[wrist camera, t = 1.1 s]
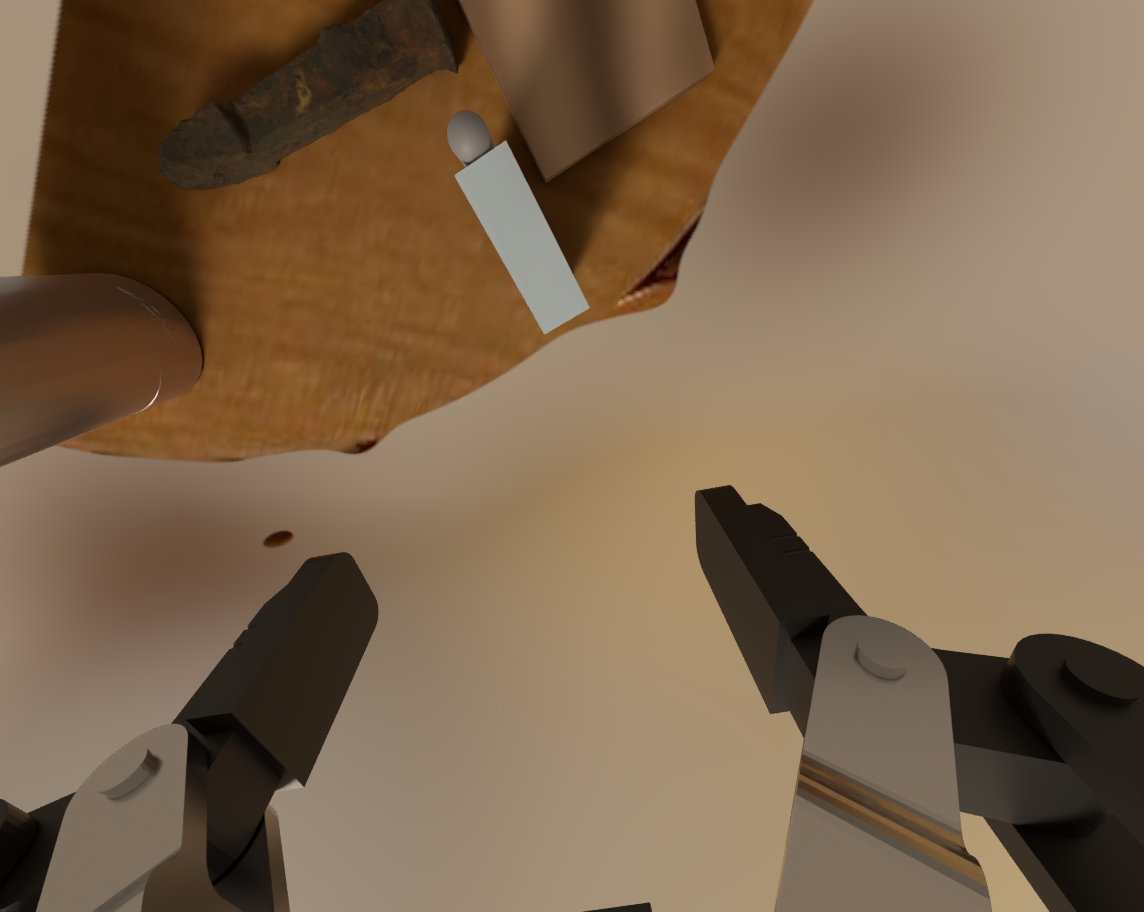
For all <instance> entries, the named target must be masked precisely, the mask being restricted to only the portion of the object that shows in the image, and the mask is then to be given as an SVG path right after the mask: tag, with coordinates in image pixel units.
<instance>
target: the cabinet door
mask: <svg viewBox="0 0 1144 912" xmlns="http://www.w3.org/2000/svg"><path fill="white" fill-rule="evenodd" d="M447 137H448V142H449V145H450V147H451V149H452V151H453V152H454V153H455V155H456V156H457V157H458V158H459V160H460V161H461V162H462V163H463V165H464V166H465V167H466V168H465V169H463V170H462V171H460V172H459V173H457V174H456V175H454V176H455V178H456V180H457V181H458V183H459V185H460V187H461V188H462V190H463V192H464V194H465V195H466V197H467V199H468V201H469V202H470V204H471V206H472V208H473V209H474V211H475V213H476V215H477V216H478V218H479V220H480V222H481V224H482V225H483V227H484V229H485V231H486V232H487V234H488V236H489V238H490V239H491V241H492V243H493V245H494V246H495V248H496V250H497V252H498V253H499V255H500V257H501V259H502V261H503V262H504V264H505V266H506V268H507V269H508V271H509V273H510V275H511V276H512V278H513V280H514V282H515V283H516V285H517V287H518V289H519V290H520V292H521V294H522V296H523V297H524V299H525V301H526V303H527V305H528V306H529V308H530V310H531V312H532V313H533V315H534V317H535V319H536V320H537V322H538V324H539V326H540V327H541V329H542V331H543V333H544V334H546V333H548V332H549V331H551V330H553V329H555V328H556V327H558V326H560V325H561V324H563V323H565V322H566V321H568V320H570V319H572V318H573V317H575V316H577V315H578V314H580V313H582V312H583V311H585V310H587V309H589V308H590V307H589V305H588V303H587V301H586V299H585V297H584V295H583V293H582V291H581V289H580V287H579V285H578V283H577V281H576V279H575V277H574V275H573V273H572V271H571V269H570V267H569V265H568V263H567V261H566V259H565V257H564V255H563V253H562V251H561V249H560V247H559V245H558V243H557V241H556V239H555V237H554V235H553V233H552V231H551V229H550V227H549V225H548V223H547V221H546V219H545V217H544V215H543V213H542V211H541V209H540V207H539V205H538V203H537V201H536V199H535V197H534V195H533V193H532V191H531V189H530V187H529V185H528V183H527V181H526V179H525V177H524V175H523V173H522V171H521V169H520V167H519V165H518V163H517V161H516V159H515V157H514V155H513V153H512V151H511V149H510V147H509V145H508V143H507V141H504V142H503V143H501V144H500V145H498V146H497V147H495V146H494V144H493V141H492V139H491V136H490V133H489V131H488V128H487V126H486V124H485V122H484V121H483V119H482V118H481V117H480V116H479V115H477V114H476V113H474V112H472V111H467V110H465V111H460V112H458V113H456V114H455V115H454V116H453V117H452V118H451V120H450V122H449V124H448V129H447Z"/></svg>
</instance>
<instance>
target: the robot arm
mask: <svg viewBox="0 0 1144 912" xmlns="http://www.w3.org/2000/svg"><path fill="white" fill-rule="evenodd" d="M201 369H202V354H201V348H200V345H199V342H198V340H197V337H196V334H195V333H194V331H193V329H192V328H191V326H190V324H189V323H188V321H187V320H186V319H185V318H184V316H183V315H182V314H181V313H180V312H179V310H178V309H177V308H176V307H175V306H174V305H172V304H171V303H170V302H169V301H168V300H167V299H166V298H165V297H163V296H162V295H160V294H159V293H157V292H156V291H154V290H153V289H151V288H150V287H148V286H146V285H144V284H142V283H140V282H137V281H135V280H133V279H130V278H127V277H123V276H120V275H116V274H107V273H87V274H64V275H34V276H11V277H0V467H2V466H5V465H7V464H10V463H12V462H15V461H17V460H20V459H22V458H25V457H27V456H30V455H32V454H35V453H37V452H39V451H42V450H45V449H47V448H50V447H52V446H55V445H58V444H60V443H63V442H65V441H68V440H70V439H73V438H75V437H78V436H80V435H83V434H85V433H88V432H90V431H93V430H95V429H98V428H100V427H103V426H105V425H108V424H110V423H113V422H115V421H118V420H120V419H123V418H125V417H128V416H130V415H133V414H136V413H138V412H141V411H143V410H146V409H148V408H151V407H153V406H156V405H158V404H161V403H163V402H166V401H168V400H171V399H174V398H176V397H179V396H181V395H183V394H184V393H186V392H187V391H189V390H190V389H191V388H192V387H193V386H194V385H195V384H196V382H197V381H198V378H199V376H200V374H201ZM695 522H696V545H697V553H698V557H699V561H700V564H701V567H702V570H703V572H704V574H705V576H706V579H707V581H708V582H709V585H710V587H711V589H712V591H713V593H714V596H715V598H716V600H717V602H718V604H719V606H720V608H721V610H722V613H723V614H724V617H725V619H726V621H727V623H728V625H729V627H730V630H731V632H732V634H733V636H734V638H735V640H736V642H737V644H738V646H739V649H740V651H741V653H742V655H743V657H744V659H745V661H746V663H747V666H748V668H749V670H750V672H751V674H752V676H753V679H754V681H755V683H756V685H757V687H758V689H759V691H760V693H761V695H762V698H763V700H764V702H765V704H766V706H767V708H768V710H769V713H770V714H774V713H780V712H786V711H790V712H791V714H792V716H793V718H794V720H795V722H796V724H797V725H798V728H799V729H800V732H801V733H802V735H803V737H804V742H803V748H802V754H801V759H800V765H799V771H798V776H797V783H796V788H795V794H794V800H793V805H792V811H791V817H790V823H789V829H788V834H787V840H786V846H785V852H784V858H783V863H782V869H781V874H780V880H779V886H778V891H777V898H776V903H775V909H774V912H992V909H991V902H990V896H989V891H988V887H987V883H986V879H985V876H984V873H983V870H982V868H981V866H980V864H979V862H978V860H977V859H976V858H975V857H974V856H972V855H970V854H969V853H968V852H967V850H966V848H965V845H964V841H963V837H962V831H961V821H960V812H964V813H969V814H973V815H977V816H982V817H984V819H985V820H986V822H987V823H988V825H989V826H990V827H991V829H992V830H993V832H994V833H995V835H996V836H997V837H998V839H999V840H1000V842H1001V843H1002V844H1003V846H1004V847H1005V849H1006V850H1007V852H1008V853H1009V854H1010V856H1011V857H1012V859H1013V860H1014V862H1015V863H1016V865H1017V866H1018V867H1019V869H1020V870H1021V872H1022V873H1023V874H1024V876H1025V877H1026V879H1027V880H1028V882H1029V883H1030V884H1031V886H1032V887H1033V889H1034V890H1035V892H1036V893H1037V894H1038V896H1039V897H1040V899H1041V900H1042V902H1043V903H1044V904H1045V906H1046V907H1047V909H1048V910H1049V912H1144V667H1143V666H1142V665H1140V664H1138V663H1137V662H1135V661H1133V660H1132V659H1130V658H1128V657H1125V656H1123V655H1122V654H1120V653H1118V652H1115V651H1113V650H1111V649H1108V648H1106V647H1104V646H1101V645H1098V644H1095V643H1092V642H1090V641H1086V640H1083V639H1079V638H1075V637H1071V636H1065V635H1059V634H1036V635H1030V636H1028V637H1025V638H1023V639H1022V640H1020V641H1019V642H1018V643H1017V645H1016V647H1015V649H1014V650H1013V652H1012V654H1011V656H1010V658H1003V657H995V656H987V655H978V654H971V653H963V652H954V651H947V650H939V649H934V648H930V647H929V646H928V645H927V644H926V643H924V641H923V640H921V639H920V638H919V637H917V636H916V635H914V634H913V633H911V632H910V631H908V630H906V629H905V628H903V627H901V626H898V625H896V624H894V623H892V622H889V621H886V620H883V619H880V618H875V617H870V616H867V614H866V613H865V612H864V611H863V610H862V609H861V608H860V607H859V606H858V604H857V603H856V602H855V601H854V600H853V599H852V597H851V596H850V595H849V594H848V593H847V592H846V590H845V589H844V588H843V587H842V586H841V585H840V584H839V582H838V581H837V580H836V579H835V577H834V576H833V575H832V574H831V573H830V572H829V571H828V569H827V568H826V567H825V566H824V565H823V563H822V562H821V561H820V560H819V559H818V558H817V556H816V555H815V554H814V553H813V552H810V550H809V547H808V546H807V545H806V544H805V542H804V541H803V540H802V539H801V538H800V537H798V536H797V533H796V532H795V531H794V529H793V528H792V527H791V526H790V525H789V524H788V522H787V521H786V520H785V519H784V518H783V517H782V516H781V515H779V514H778V513H776V512H774V511H773V510H771V509H769V508H768V507H766V506H764V505H762V504H761V503H759V504H753V505H746V503H745V502H744V500H743V499H742V498H741V497H740V495H739V494H738V493H737V491H736V490H735V489H734V487H732V486H731V485H727V486H722V487H715V488H710V489H704V490H699V491H696V493H695ZM377 621H378V604H377V600H376V598H375V596H374V594H373V592H372V591H371V589H370V587H369V585H368V583H367V582H366V580H365V578H364V576H363V574H362V573H361V571H360V569H359V567H358V565H357V564H356V562H355V560H354V559H353V557H352V556H351V555H350V554H348V553H346V552H342V553H336V554H331V555H324V556H318V557H313V558H310V559H308V560H306V561H305V562H304V564H303V565H302V566H301V568H300V569H299V570H298V572H297V573H296V574H295V576H294V577H293V578H292V580H291V581H290V582H289V583H288V585H286V586H285V587H284V588H283V589H282V590H281V591H279V592H278V593H277V594H276V595H275V596H273V598H271V599H270V600H269V601H268V602H266V603H265V604H264V605H263V607H262V608H261V609H260V611H259V612H258V613H257V614H256V616H255V617H254V618H253V619H252V621H251V622H250V623H249V625H248V629H247V630H244V631H243V632H242V634H241V635H240V636H239V637H238V639H237V640H236V641H235V643H234V644H233V645H234V647H233V648H232V649H229V651H228V652H227V653H226V654H225V655H224V657H223V658H222V659H221V661H220V662H219V663H218V664H217V666H216V667H215V668H214V670H213V671H212V672H211V673H210V675H209V676H208V677H207V679H206V680H205V681H204V682H203V684H202V685H201V686H200V688H199V689H198V690H197V691H196V693H195V694H194V695H193V697H192V698H191V699H190V700H189V702H188V703H187V704H186V705H185V707H184V708H183V709H182V711H181V712H180V713H179V715H178V716H177V717H176V718H175V720H174V721H173V722H172V723H171V724H168V725H163V726H160V727H157V728H154V729H152V730H150V731H147V732H145V733H143V734H142V735H140V736H138V737H136V738H135V739H133V740H131V741H130V742H128V743H127V744H125V745H124V746H123V747H121V748H120V749H119V750H117V751H116V752H115V753H113V754H112V755H111V756H110V757H109V758H108V759H106V760H105V761H104V762H103V763H102V764H101V765H100V766H99V767H98V768H97V769H95V771H94V772H93V773H92V774H91V775H90V776H89V777H88V778H87V779H86V780H85V782H84V783H83V784H82V785H81V786H80V788H79V789H78V790H77V792H74V793H72V794H70V795H68V796H65V797H63V798H61V799H59V800H56V801H54V802H52V803H50V804H47V805H45V806H43V807H40V808H38V809H36V810H34V811H32V812H29V813H25V812H24V811H22V810H20V809H19V808H17V807H15V806H13V805H11V804H10V803H8V802H6V801H5V800H3V799H0V912H290V907H289V899H288V891H287V883H286V875H285V867H284V860H283V852H282V844H281V836H280V828H279V821H278V815H277V812H276V810H275V809H274V808H273V807H272V806H271V805H270V804H269V802H270V800H271V798H272V796H273V794H274V792H277V791H284V790H290V789H297V788H303V787H305V784H306V782H307V780H308V778H309V775H310V773H311V771H312V769H313V766H314V764H315V762H316V759H317V757H318V755H319V753H320V751H321V748H322V746H323V744H324V742H325V739H326V737H327V735H328V733H329V730H330V728H331V726H332V724H333V722H334V719H335V717H336V715H337V713H338V710H339V708H340V706H341V704H342V701H343V699H344V697H345V695H346V692H347V690H348V688H349V686H350V683H351V681H352V679H353V677H354V674H355V672H356V670H357V667H358V665H359V663H360V661H361V658H362V656H363V654H364V652H365V650H366V647H367V645H368V643H369V641H370V638H371V636H372V634H373V632H374V630H375V627H376V624H377ZM585 912H652V909H651V905H650V903H643V904H635V905H628V906H621V907H614V908H607V909H599V910H592V911H585Z"/></svg>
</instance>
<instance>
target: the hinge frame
mask: <svg viewBox="0 0 1144 912" xmlns="http://www.w3.org/2000/svg"><path fill="white" fill-rule="evenodd" d="M457 1H458V3H459V6H460V8H461V10H462V12H463V14H464V16H465V18H466V20H467V22H468V24H469V26H470V28H471V30H472V33H473V35H474V37H475V39H476V41H477V43H478V45H479V47H480V49H481V51H482V53H483V55H484V57H485V59H486V62H487V64H488V66H489V68H490V70H491V72H492V74H493V76H494V78H495V80H496V82H497V84H498V86H499V89H500V91H501V93H502V95H503V97H504V99H505V101H506V103H507V105H508V107H509V109H510V111H511V113H512V115H513V118H514V120H515V122H516V124H517V126H518V128H519V130H520V132H521V134H522V136H523V138H524V140H525V142H526V145H527V147H528V149H529V151H530V153H531V155H532V157H533V159H534V161H535V163H536V165H537V167H538V169H539V171H540V174H541V176H542V178H543V180H544V182H545V183H547V182H548V181H550V180H551V179H553V178H554V177H556V176H557V175H559V174H560V173H562V172H564V171H565V170H567V169H568V168H570V167H571V166H573V165H574V164H576V163H577V162H579V161H580V160H582V159H583V158H585V157H587V156H588V155H590V154H591V153H593V152H594V151H596V150H597V149H599V148H600V147H602V146H603V145H605V144H606V143H608V142H610V141H611V140H613V139H614V138H616V137H617V136H619V135H620V134H622V133H623V132H625V131H626V130H628V129H629V128H631V127H633V126H634V125H636V124H637V123H639V122H640V121H642V120H643V119H645V118H646V117H648V116H649V115H651V114H652V113H654V112H656V111H657V110H659V109H660V108H662V107H663V106H665V105H666V104H668V103H669V102H671V101H672V100H674V99H675V98H677V97H679V96H680V95H682V94H683V93H685V92H686V91H688V90H689V89H691V88H692V87H694V86H695V85H697V84H698V83H700V82H702V81H703V80H705V79H706V78H707V77H708V76H709V75H710V74H711V73H712V72H713V71H714V70H715V67H714V64H713V60H712V57H711V53H710V50H709V46H708V43H707V39H706V35H705V32H704V28H703V25H702V21H701V18H700V14H699V11H698V7H697V4H696V0H457Z"/></svg>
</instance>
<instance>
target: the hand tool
mask: <svg viewBox="0 0 1144 912" xmlns="http://www.w3.org/2000/svg"><path fill="white" fill-rule="evenodd" d="M458 68H459V66H458V64H457V61H456V57H455V53H454V50H453V46H452V44H451V40H450V37H449V34H448V31H447V29H446V26H445V24H444V21H443V19H442V16H441V13H440V10H439V8H438V7H437V5H436V3H435V1H434V0H383V1H382V2H380V3H378V4H376V5H375V6H374V7H372V8H371V9H368V10H367V11H366V12H365V13H364V14H362V15H361V16H359V17H358V18H356V19H355V20H353V21H351V22H348V23H344V24H343V25H337V26H334V27H333V29H331V28H328V27H323V28H322V29H321V30H320V34H319V40H318V42H317V44H316V45H314V46H313V47H311V48H309V49H308V50H307V51H306V52H304V53H303V54H301V55H300V56H298V57H297V58H295V59H293V60H292V61H290V62H289V63H287V64H285V65H284V66H282V67H281V68H280V69H278V70H277V71H275V72H274V73H272V74H271V75H269V76H267V77H266V78H264V79H263V80H262V81H260V82H259V83H258V84H256V85H255V86H253V87H252V88H251V89H249V90H248V91H247V92H245V93H244V94H242V95H241V96H239V97H237V98H236V99H234V100H231V101H229V102H228V103H227V104H225V105H221V104H219V103H216V102H211V103H209V104H207V105H206V106H205V107H203V108H202V109H199V110H198V111H197V112H196V113H195V115H194V116H193V117H192V118H190V119H187V120H182V121H181V122H180V123H179V125H178V127H177V129H172V130H171V131H170V132H169V133H168V134H167V136H166V138H165V140H164V141H163V143H162V144H160V145H159V152H158V161H157V166H158V167H159V168H160V171H161V173H162V174H163V175H164V176H165V177H166V178H168V179H169V180H170V181H171V183H174V184H176V185H178V186H180V187H181V188H183V189H185V190H204V189H213V188H218V187H222V186H228V185H231V184H234V183H236V184H238V183H241V182H244V181H246V180H247V179H250V178H252V177H257V176H260V175H263V174H265V173H269V172H272V171H273V170H275V169H276V168H277V167H278V166H279V160H280V159H282V158H284V157H286V156H288V155H290V154H291V153H293V152H295V151H297V150H299V149H301V148H303V147H305V146H307V145H309V144H310V143H312V142H314V141H316V140H317V139H319V138H321V137H322V136H325V135H328V134H330V133H332V132H334V131H336V130H337V129H338V128H340V127H341V126H342V125H343V124H345V123H346V122H348V121H350V120H352V119H354V118H356V117H357V116H359V115H360V114H363V113H365V112H368V111H370V110H371V109H373V108H375V107H377V106H379V105H381V104H383V103H385V102H388V101H390V100H391V99H392V98H393V97H394V96H395V95H396V94H398V93H400V92H402V91H404V90H405V89H406V88H407V87H408V86H410V85H412V84H414V83H415V82H417V81H419V80H420V79H421V78H423V77H425V76H427V75H429V74H431V73H433V72H435V71H437V70H443V69H448V70H450V71H452V72H455V73H458Z"/></svg>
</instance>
